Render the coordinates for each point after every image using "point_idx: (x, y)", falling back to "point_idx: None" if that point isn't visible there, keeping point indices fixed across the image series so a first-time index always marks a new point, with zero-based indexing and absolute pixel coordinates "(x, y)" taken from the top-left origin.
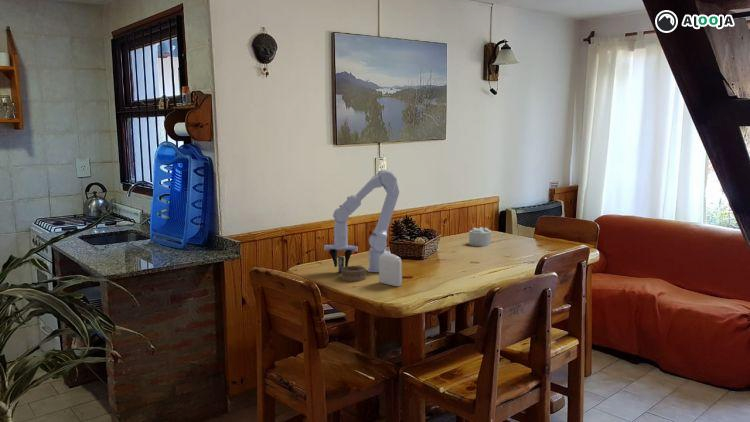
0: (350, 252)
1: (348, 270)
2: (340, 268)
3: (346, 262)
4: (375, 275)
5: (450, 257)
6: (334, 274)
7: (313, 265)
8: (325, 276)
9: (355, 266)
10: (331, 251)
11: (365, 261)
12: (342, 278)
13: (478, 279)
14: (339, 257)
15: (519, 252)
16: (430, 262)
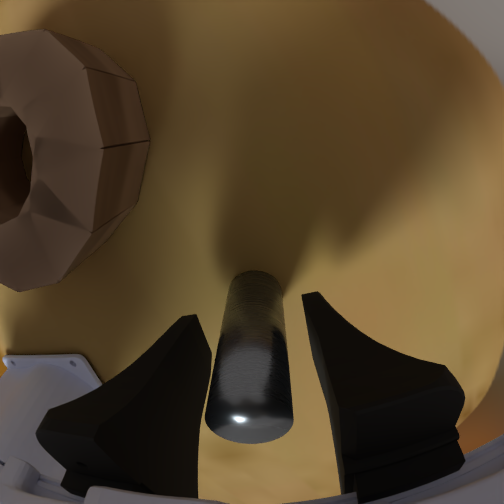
0: (43, 442)
1: (3, 74)
2: (246, 293)
3: (158, 345)
4: (5, 293)
5: None
6: (277, 193)
7: (494, 358)
8: (327, 83)
9: (31, 270)
10: (427, 438)
11: (241, 492)
12: (103, 54)
13: None
14: (255, 389)
15: None
16: None
